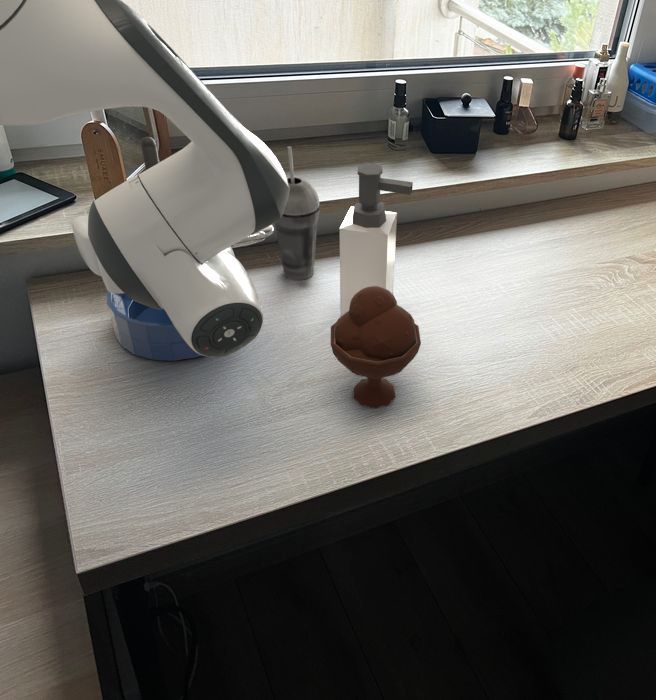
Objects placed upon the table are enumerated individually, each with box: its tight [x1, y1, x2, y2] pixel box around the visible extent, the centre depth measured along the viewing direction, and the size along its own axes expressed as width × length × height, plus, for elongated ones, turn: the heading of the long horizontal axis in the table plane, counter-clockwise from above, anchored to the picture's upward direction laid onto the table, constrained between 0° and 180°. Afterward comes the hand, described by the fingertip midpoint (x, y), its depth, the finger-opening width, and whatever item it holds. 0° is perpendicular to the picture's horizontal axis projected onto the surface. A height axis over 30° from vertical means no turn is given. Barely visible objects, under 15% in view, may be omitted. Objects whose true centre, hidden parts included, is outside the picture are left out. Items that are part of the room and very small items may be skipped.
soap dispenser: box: [339, 162, 414, 317], centre depth 100 cm, size 6×9×22 cm
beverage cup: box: [274, 146, 322, 281], centre depth 106 cm, size 7×7×20 cm
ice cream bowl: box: [330, 286, 422, 409], centre depth 88 cm, size 11×11×15 cm
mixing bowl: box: [106, 290, 202, 362], centre depth 97 cm, size 16×16×6 cm
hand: (157, 197), depth 88 cm, fingers closed
